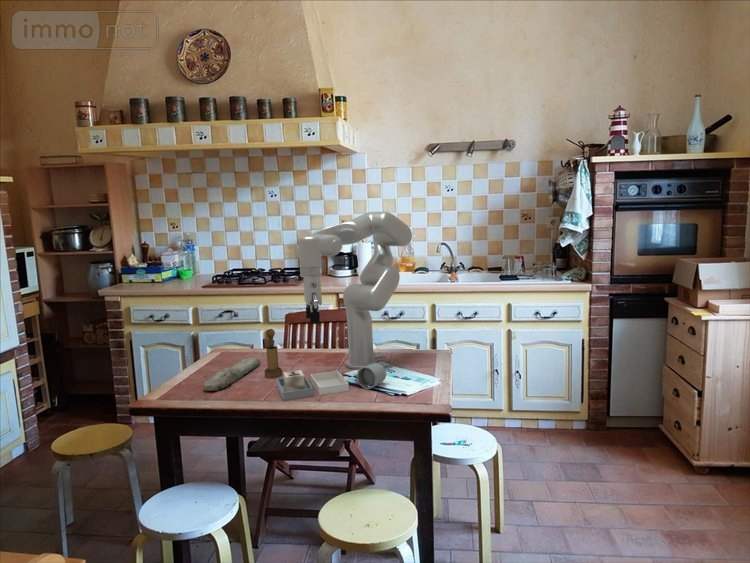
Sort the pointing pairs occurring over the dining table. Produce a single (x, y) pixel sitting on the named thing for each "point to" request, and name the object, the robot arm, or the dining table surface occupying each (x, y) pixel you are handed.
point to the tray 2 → (329, 382)
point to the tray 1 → (297, 393)
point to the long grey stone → (230, 374)
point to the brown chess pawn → (272, 358)
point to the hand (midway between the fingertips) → (312, 320)
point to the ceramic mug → (371, 375)
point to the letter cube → (294, 380)
